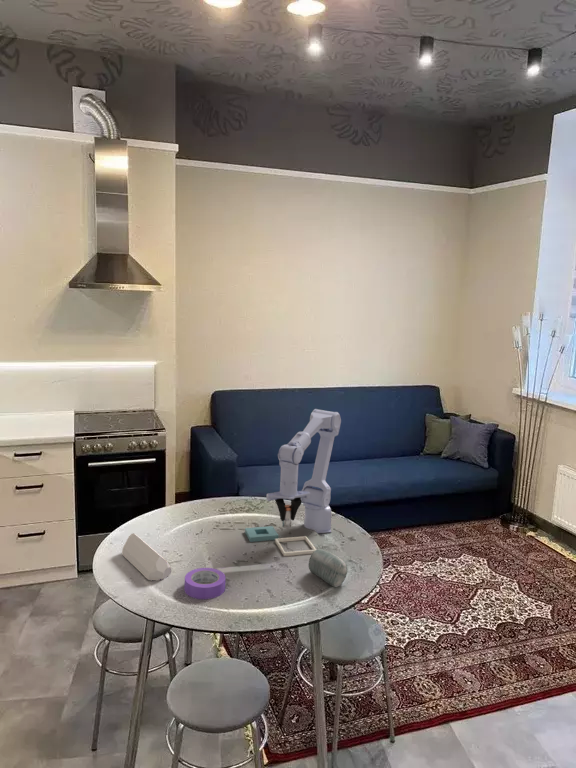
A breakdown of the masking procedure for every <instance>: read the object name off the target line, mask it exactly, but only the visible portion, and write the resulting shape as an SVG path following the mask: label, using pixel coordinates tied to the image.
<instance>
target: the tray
mask: <svg viewBox="0 0 576 768" xmlns="http://www.w3.org/2000/svg"><path fill="white" fill-rule="evenodd" d="M296 541H305V542H306V543H307V544H308V546H309V547H310V548H311V549H308V550H295V551H285V550H284V548H283V546H282V544H281V543H286V542H296ZM274 543H275V544H276V545H277V547H278V549H279V551H280V552H281V553H282V555H283V557H291V556H293V557H294V556H301V555H312V553H313V552H314V551H315V550H317V549H318V548H316V547H315V546H314V544H313V543H312V541H311V540H310V539H309V538H308V537H307V535H304V536H294V537H293V536H291V537H281V538H278V539H275V540H274Z"/></svg>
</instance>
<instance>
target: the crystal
mask: <svg viewBox="0 0 576 768" xmlns="http://www.w3.org/2000/svg"><path fill="white" fill-rule="evenodd" d="M121 551H122V553H121V555H122V556H123V557H124V558H125V559H126V560H127V561H128V562H129V563H130V564H131V565H132V566H134V568H136V570H138V572H140V573H141V574H142V575H143V576H144V578H146V579H147V580H148V581H152V580H158V581H161V580H164V578H165V579H167V578H168V577H169V576H170V575H171V574H172V567H171V565H170V563H169V562H168V561H167V559H165V558H164V557H163V556H162V555H161V554H159V552H158V551H156V550H155V549H154V548H152V546H150V544H149V543H147V542H146V541H144V539H142V538H141V537H140V536H139V535H137V534H136V533H133V532H132V533H131V534H130V535H129V536H128V538H127V539H126V542H125V543H124V545H123V547H122V549H121ZM167 576H168V577H167ZM160 579H161V580H160Z"/></svg>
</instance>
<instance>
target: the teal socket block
mask: <svg viewBox="0 0 576 768" xmlns="http://www.w3.org/2000/svg"><path fill="white" fill-rule="evenodd" d="M244 533H245V535H246V537H247V539H248V540H249V542H250V543H252V542H265V541H266V542H267V541H275V539H278V538H279V536H280V535H279V534H278V533H277V530H276V529H275V527H274V526H273V525H269V526H256V527H245V528H244Z"/></svg>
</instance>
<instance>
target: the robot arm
mask: <svg viewBox="0 0 576 768" xmlns="http://www.w3.org/2000/svg"><path fill="white" fill-rule="evenodd" d="M341 423H342V419H341V415H340V413H339V412H338V411H329V410H323V409H318V408H314V409H313V410H312V412H311V413H310V416H309V422H308V423H307V425H306V426H305V427H304V428H303V431H298V432H297V433H296V434H295V435H294V436H293V437H292V438H291V440H290V441H289V442H288V443H287V444H282V445H281V446H280V448H279V450H278V453H277V458H278V460H279V463H278V465H279V467H280V477H279V478H280V480H279V481H280V483H279V484H280V485H279V491H275V492H270V493H269V492H268V493H266V501H267V502H271V501H274V502H275V504H276V506H277V508H278V512H279V517H280V518H279V519H280V521H281V522H282V521H284V509H285V505H286V503H285V500H289V501H290V505H291V506H292V519H291V521H295V519H296V514H297V512H298V510H299V508H300V507H301V505H302V503H303V507H304V520H303V526H304V528H306V529H308V530H313V531H315V532H316V534H327V533H332V530H331V529H332V508H331V507H330V505H329V504H330V502H331V494H332V493H331V491H332V487H330V485H329V484H328V483H327V481H326V480H327V474H328V470H329V465H330V460H331V455H332V451H333V445H334V442H335V441H334V440H335V437H337V436H339V433H340V428H341ZM317 433H318V434H319V436H320V439H319V443H318V447H317V451H316V457H315V460H314V466H313V471H312V476H311V478H310V479H308V480H307V481H305V482H304V484H303V487H302V489H301V490H298V481H299V480H298V478H299V464H300V463H301V461H302V459H303V456H304V453H305V451H306V450H307V448H308V447H309V446H310V445H311V444H312V443H311V442H312V438H313V437H314V436H315V435H316V434H317Z"/></svg>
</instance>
